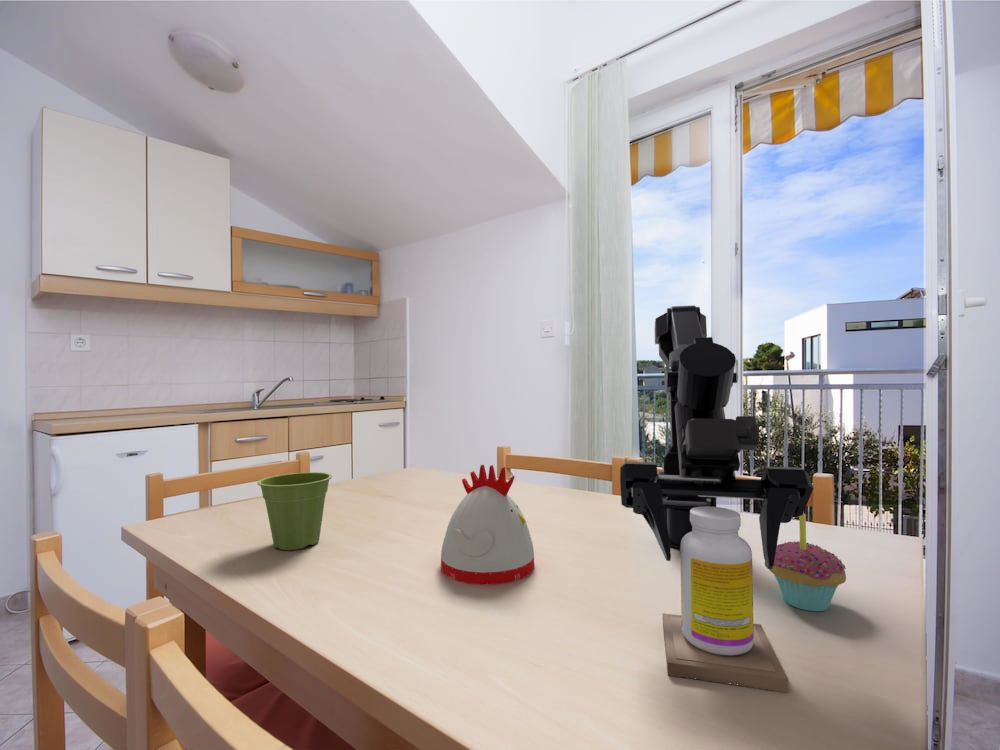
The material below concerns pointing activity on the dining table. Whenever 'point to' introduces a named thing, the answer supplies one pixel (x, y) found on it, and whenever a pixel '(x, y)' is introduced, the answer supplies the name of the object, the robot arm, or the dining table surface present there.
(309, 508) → the plant pot
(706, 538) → the supplement bottle
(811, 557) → the cupcake
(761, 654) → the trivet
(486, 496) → the kitchen timer
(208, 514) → the dining table surface
